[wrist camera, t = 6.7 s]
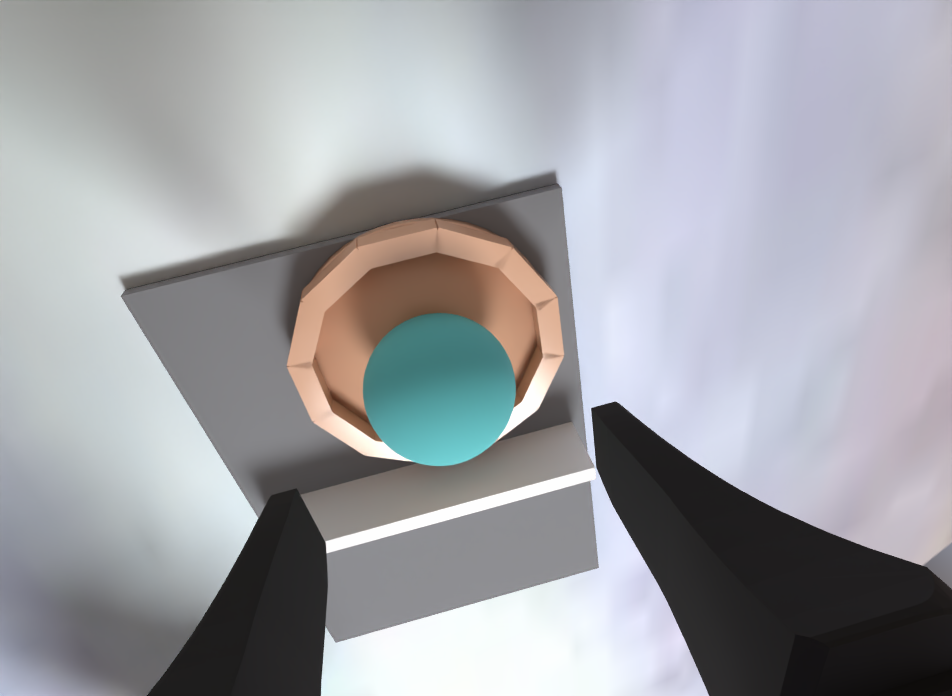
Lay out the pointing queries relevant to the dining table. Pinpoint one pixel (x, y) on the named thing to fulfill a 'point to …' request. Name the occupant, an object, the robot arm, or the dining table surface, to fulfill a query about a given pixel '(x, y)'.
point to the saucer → (410, 295)
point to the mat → (334, 462)
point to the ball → (439, 389)
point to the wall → (449, 487)
